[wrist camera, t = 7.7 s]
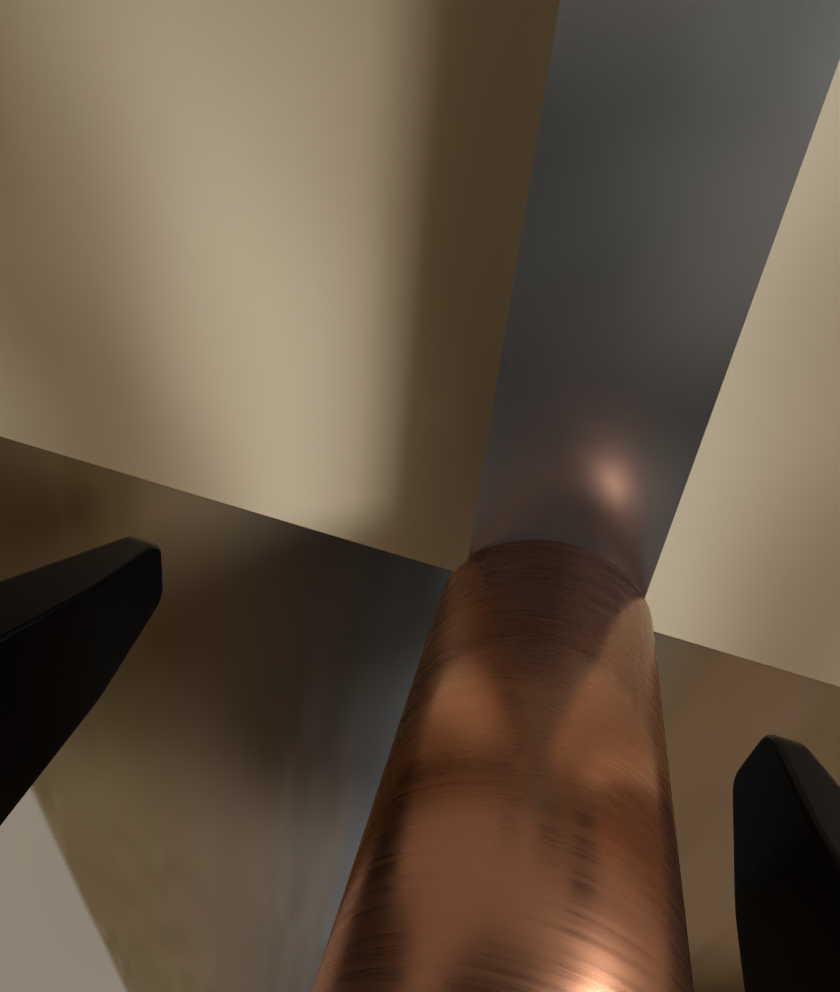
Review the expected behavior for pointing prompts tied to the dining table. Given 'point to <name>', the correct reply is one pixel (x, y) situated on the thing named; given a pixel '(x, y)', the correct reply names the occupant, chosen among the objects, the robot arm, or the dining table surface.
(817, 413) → the base
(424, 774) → the lever
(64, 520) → the dining table surface
